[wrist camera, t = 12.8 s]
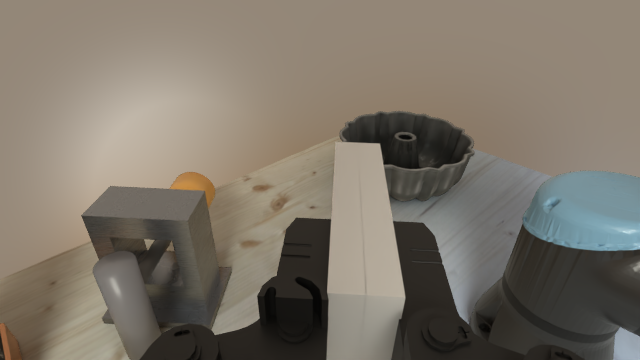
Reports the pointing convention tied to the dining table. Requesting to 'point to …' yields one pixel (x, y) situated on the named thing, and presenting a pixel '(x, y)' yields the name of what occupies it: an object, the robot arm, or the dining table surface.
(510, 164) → the dining table surface
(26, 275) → the dining table surface
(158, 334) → the plug
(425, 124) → the bundt pan
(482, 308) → the robot arm
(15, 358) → the whiskey bottle
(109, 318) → the frame
